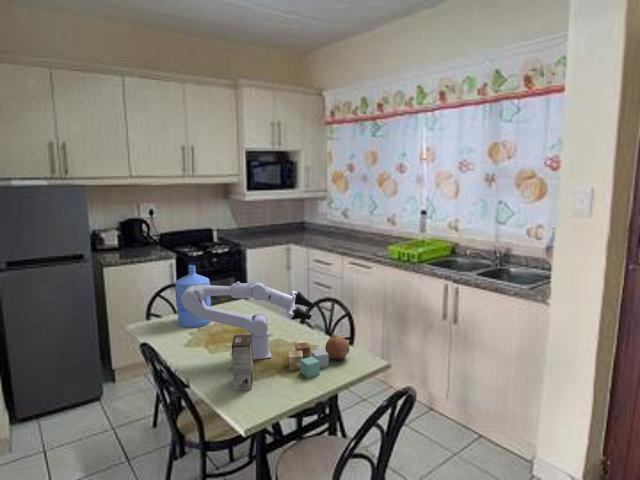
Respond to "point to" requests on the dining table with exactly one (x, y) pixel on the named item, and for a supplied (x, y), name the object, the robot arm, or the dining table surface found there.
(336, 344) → the onion
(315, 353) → the grey cube
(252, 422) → the dining table surface
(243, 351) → the coffee box
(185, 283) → the water jug
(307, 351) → the walnut cube
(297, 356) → the maple cube
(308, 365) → the teal cube
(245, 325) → the robot arm
